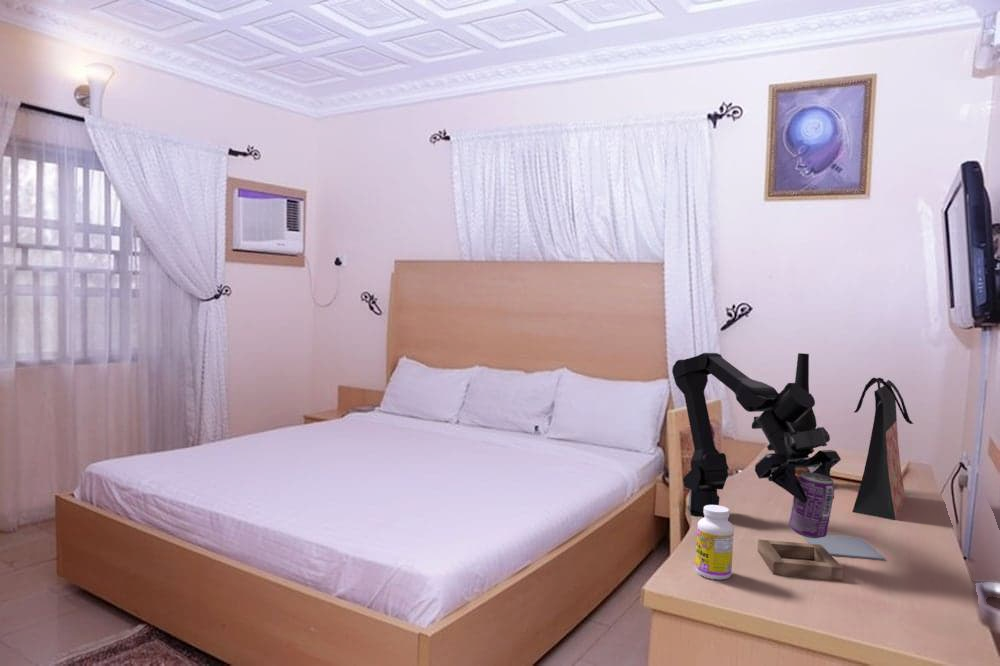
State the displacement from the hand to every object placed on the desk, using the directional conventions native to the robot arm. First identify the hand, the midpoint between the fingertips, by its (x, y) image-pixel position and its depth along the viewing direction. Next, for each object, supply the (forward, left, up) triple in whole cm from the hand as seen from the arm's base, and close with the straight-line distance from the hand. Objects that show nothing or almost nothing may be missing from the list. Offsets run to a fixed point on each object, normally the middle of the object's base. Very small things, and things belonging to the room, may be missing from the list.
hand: (818, 500), depth 133 cm
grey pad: (+9, +13, -13) cm, 21 cm away
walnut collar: (-4, -1, -13) cm, 14 cm away
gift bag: (+31, +50, -13) cm, 60 cm away
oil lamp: (+16, +71, -13) cm, 74 cm away
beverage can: (-1, +2, -8) cm, 8 cm away
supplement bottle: (-22, -10, -13) cm, 27 cm away
